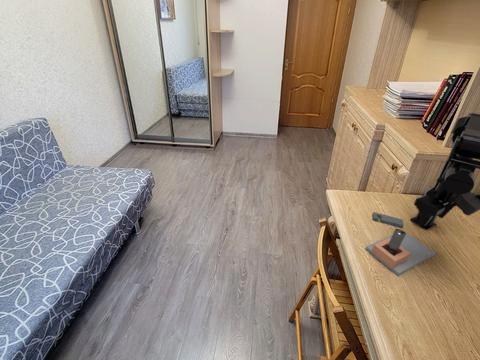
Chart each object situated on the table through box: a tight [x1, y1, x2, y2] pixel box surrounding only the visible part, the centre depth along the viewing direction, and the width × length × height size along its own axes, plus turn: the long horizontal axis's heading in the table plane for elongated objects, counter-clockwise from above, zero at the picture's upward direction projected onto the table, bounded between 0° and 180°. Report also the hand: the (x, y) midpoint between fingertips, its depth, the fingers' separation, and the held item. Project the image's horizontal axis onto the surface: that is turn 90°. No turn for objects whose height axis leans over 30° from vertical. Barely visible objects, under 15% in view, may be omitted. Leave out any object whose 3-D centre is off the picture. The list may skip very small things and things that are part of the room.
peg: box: [386, 228, 407, 256], centre depth 81 cm, size 3×3×10 cm
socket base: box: [364, 231, 437, 277], centre depth 86 cm, size 19×12×4 cm, turn 117°
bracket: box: [371, 211, 404, 229], centre depth 100 cm, size 4×10×2 cm, turn 66°
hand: (431, 221), depth 81 cm, fingers open, 9 cm apart
